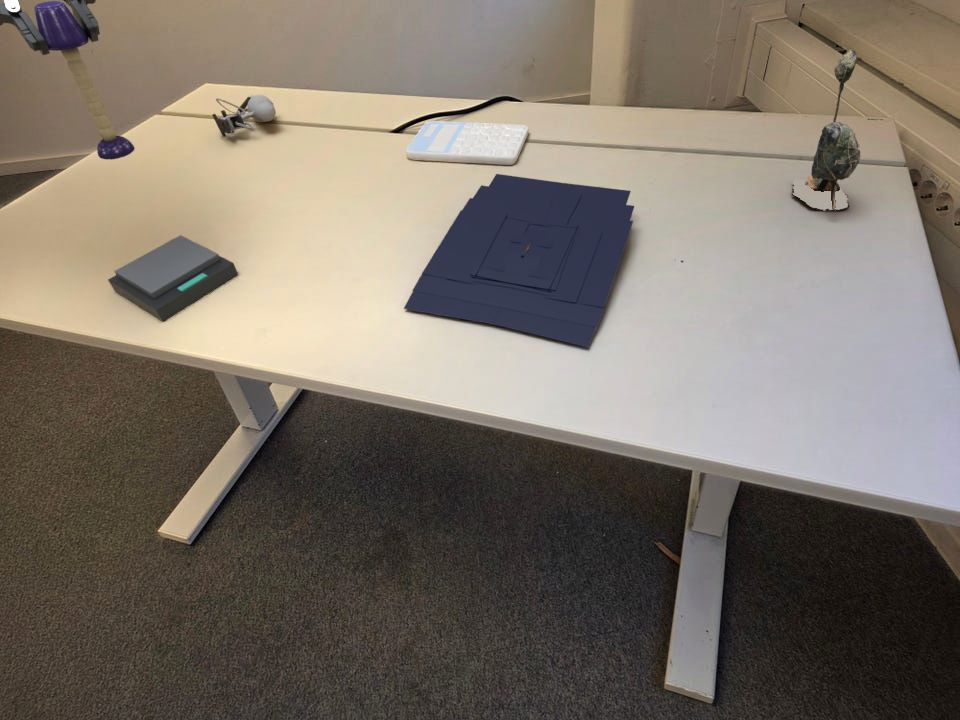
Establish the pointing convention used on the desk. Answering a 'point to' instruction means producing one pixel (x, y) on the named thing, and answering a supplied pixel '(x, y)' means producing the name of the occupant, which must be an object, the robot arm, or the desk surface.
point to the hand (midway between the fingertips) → (69, 42)
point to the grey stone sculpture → (836, 142)
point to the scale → (172, 277)
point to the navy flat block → (529, 258)
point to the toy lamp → (79, 71)
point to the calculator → (468, 142)
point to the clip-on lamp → (257, 109)
